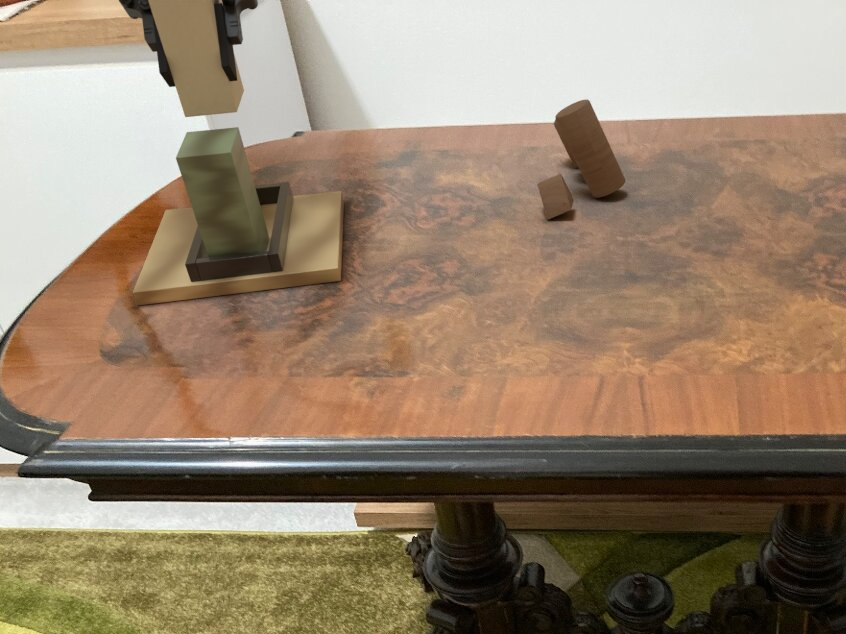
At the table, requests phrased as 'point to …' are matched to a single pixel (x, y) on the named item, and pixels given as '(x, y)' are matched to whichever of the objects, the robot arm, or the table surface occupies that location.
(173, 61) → the cream back pad
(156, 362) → the table surface
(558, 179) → the wooden block set
